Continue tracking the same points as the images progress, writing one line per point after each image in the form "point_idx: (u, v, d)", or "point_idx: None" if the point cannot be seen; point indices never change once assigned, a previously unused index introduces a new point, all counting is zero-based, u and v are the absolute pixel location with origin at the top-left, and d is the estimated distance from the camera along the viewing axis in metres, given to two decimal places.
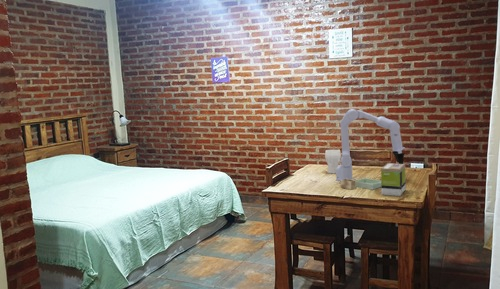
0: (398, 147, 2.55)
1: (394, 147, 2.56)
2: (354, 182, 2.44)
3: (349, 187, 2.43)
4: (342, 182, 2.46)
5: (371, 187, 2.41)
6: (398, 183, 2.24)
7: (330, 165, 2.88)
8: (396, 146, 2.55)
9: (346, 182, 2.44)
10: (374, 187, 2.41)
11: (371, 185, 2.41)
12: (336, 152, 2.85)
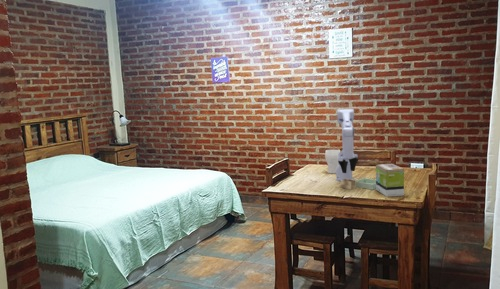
0: (345, 154, 2.42)
1: (343, 153, 2.44)
2: (354, 182, 2.44)
3: (349, 187, 2.43)
4: (342, 182, 2.46)
5: (371, 187, 2.41)
6: (402, 183, 2.25)
7: (330, 165, 2.88)
8: (344, 153, 2.43)
9: (346, 182, 2.44)
10: (374, 187, 2.41)
11: (371, 185, 2.41)
12: (336, 152, 2.85)
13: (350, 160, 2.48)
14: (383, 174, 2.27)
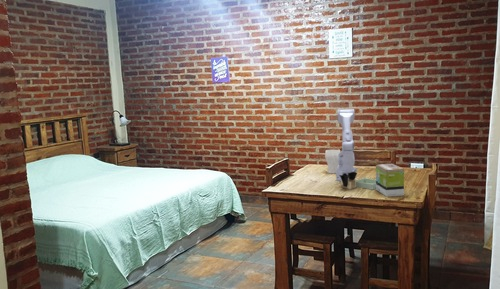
0: (345, 168, 2.43)
1: (343, 167, 2.45)
2: (354, 182, 2.44)
3: (349, 187, 2.43)
4: (342, 182, 2.46)
5: (371, 187, 2.41)
6: (402, 183, 2.25)
7: (330, 165, 2.88)
8: (344, 167, 2.44)
9: None
10: (374, 187, 2.41)
11: (371, 185, 2.41)
12: (336, 152, 2.85)
13: (349, 174, 2.49)
14: (383, 174, 2.27)
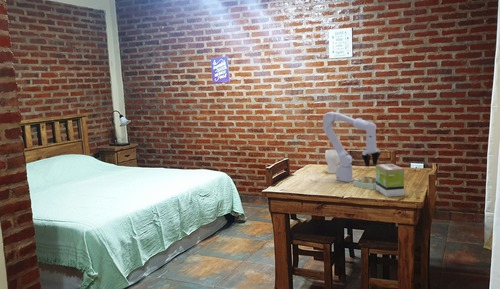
0: (368, 149, 2.56)
1: (366, 148, 2.58)
2: (375, 179, 2.46)
3: None
4: (363, 179, 2.49)
5: (371, 187, 2.41)
6: (402, 183, 2.25)
7: (330, 165, 2.88)
8: (367, 147, 2.57)
9: (367, 179, 2.47)
10: (374, 187, 2.41)
11: (371, 185, 2.41)
12: (336, 152, 2.85)
13: (372, 154, 2.62)
14: (383, 174, 2.27)
